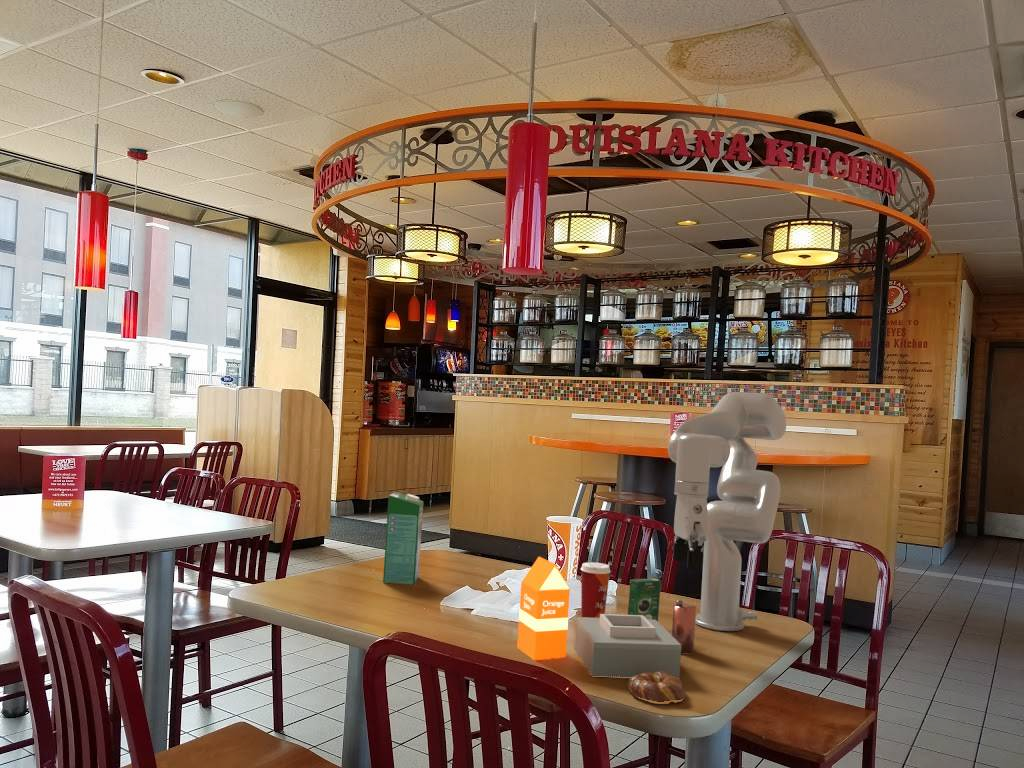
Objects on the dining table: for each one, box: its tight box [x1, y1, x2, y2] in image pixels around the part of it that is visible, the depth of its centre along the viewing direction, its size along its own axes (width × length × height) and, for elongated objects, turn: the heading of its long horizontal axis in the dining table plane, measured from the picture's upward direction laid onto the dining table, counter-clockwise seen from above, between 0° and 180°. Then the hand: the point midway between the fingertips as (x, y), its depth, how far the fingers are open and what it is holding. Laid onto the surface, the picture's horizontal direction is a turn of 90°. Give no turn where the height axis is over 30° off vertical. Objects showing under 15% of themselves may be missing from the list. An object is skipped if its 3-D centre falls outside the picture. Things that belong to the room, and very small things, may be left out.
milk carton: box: [382, 491, 424, 585], centre depth 230 cm, size 9×9×25 cm
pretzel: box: [626, 671, 686, 702], centre depth 151 cm, size 12×11×4 cm
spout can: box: [671, 599, 697, 654], centre depth 179 cm, size 5×5×11 cm
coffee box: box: [627, 577, 662, 623], centre depth 191 cm, size 8×3×13 cm, turn 123°
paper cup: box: [580, 561, 612, 618], centre depth 200 cm, size 8×8×14 cm
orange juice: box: [516, 556, 571, 661], centre depth 172 cm, size 8×9×20 cm
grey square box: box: [574, 613, 682, 679], centre depth 168 cm, size 18×18×9 cm
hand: (686, 564), depth 179 cm, fingers open, 9 cm apart
